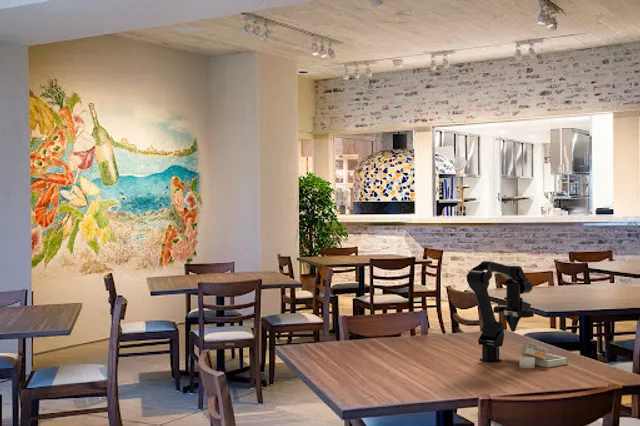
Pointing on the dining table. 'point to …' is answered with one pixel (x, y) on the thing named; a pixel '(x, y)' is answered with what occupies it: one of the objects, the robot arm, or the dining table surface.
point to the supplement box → (534, 350)
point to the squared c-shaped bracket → (551, 361)
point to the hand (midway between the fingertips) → (513, 331)
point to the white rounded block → (526, 361)
